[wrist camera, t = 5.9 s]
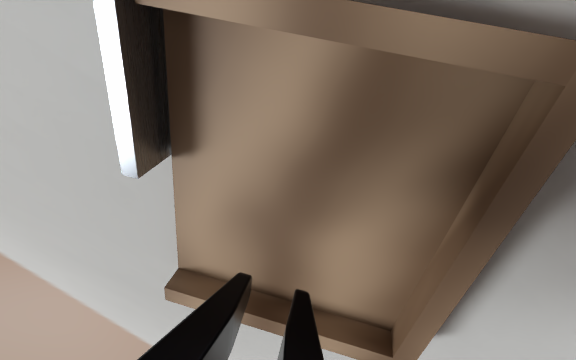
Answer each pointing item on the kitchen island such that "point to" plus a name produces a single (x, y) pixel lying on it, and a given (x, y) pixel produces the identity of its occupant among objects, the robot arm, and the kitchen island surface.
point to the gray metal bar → (135, 82)
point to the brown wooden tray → (354, 158)
